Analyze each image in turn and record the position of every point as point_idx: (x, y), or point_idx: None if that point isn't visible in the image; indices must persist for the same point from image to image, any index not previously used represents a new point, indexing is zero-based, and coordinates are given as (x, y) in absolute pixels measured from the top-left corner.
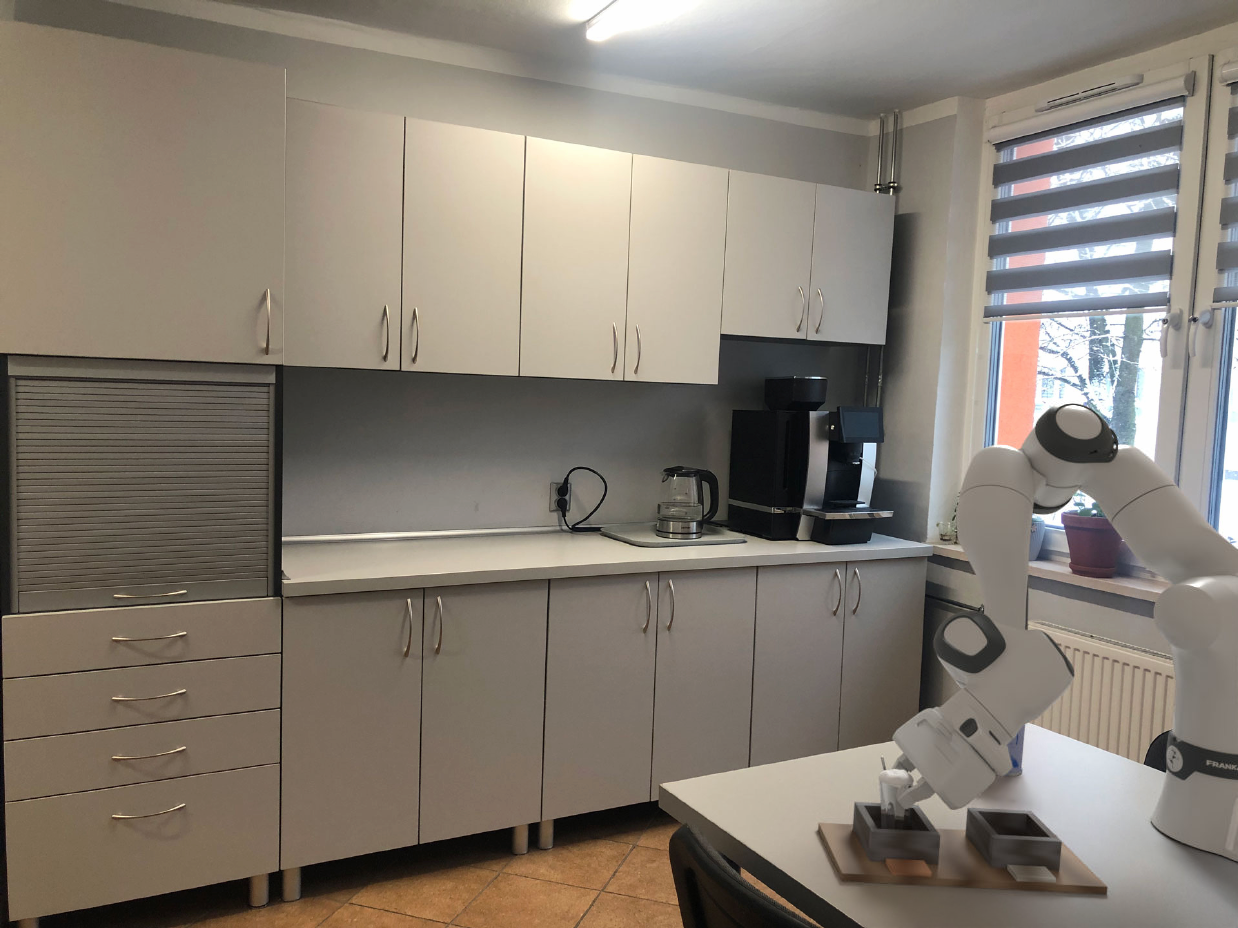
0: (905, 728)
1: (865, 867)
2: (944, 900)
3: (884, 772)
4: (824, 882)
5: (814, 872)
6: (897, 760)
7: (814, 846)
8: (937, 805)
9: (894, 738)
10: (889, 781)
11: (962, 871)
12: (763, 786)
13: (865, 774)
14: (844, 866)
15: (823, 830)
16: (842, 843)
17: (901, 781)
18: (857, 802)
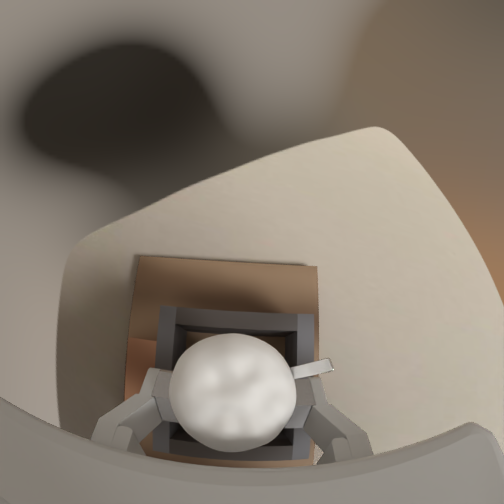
0: (482, 468)
1: (154, 300)
2: (91, 395)
3: (235, 350)
4: (142, 234)
5: (169, 228)
6: (353, 430)
7: (251, 248)
8: None
9: (461, 429)
10: (185, 352)
11: None
12: (429, 225)
13: (485, 382)
14: (159, 266)
15: (287, 267)
16: (238, 287)
17: (171, 391)
18: (310, 320)
